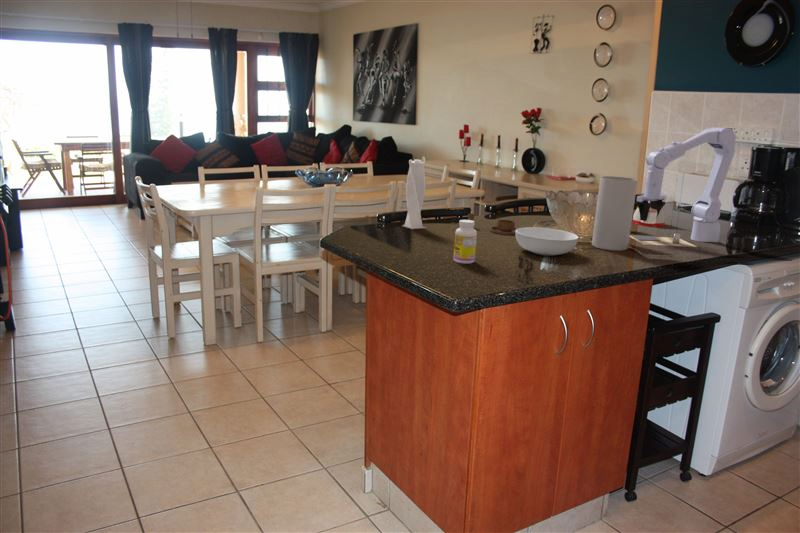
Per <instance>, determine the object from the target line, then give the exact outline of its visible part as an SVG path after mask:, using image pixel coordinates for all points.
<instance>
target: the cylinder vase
mask: <svg viewBox="0 0 800 533" xmlns="http://www.w3.org/2000/svg"><path fill="white" fill-rule="evenodd" d="M637 188H638V179H637V178H631V177H626V176H625V177H623V176H610V175H608V176H606V175H605V176H600V179H599V187H598V194H597V200H596V201H597V202H596V209H595V216H594V225H593V231H592V232H593V233H592V240H591V245H592V246H593V247H595V248H596V249H599V250H604V251H610V252H611V251H612V252H623V251H626V250H628V248H629V242H630V237H629V236H631V232H630V229H631V222H632V215H633V214H634V208H635V203H636V202H635V201H636V193H637ZM631 230H632V229H631Z"/></svg>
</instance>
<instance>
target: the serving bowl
mask: <svg viewBox="0 0 800 533" xmlns="http://www.w3.org/2000/svg"><path fill="white" fill-rule="evenodd" d="M514 232H515V234H516V235H515V239H516V241H517V243H518V245H519V246H520V247H521V248H523V249H524V250H526V251H529V252H532V253H533V254H535V255H540V256H551V257H553V256H557V255H563V254H567V253H570V252H571V251H572V250H574V249H575V247H576V245H577V244H578V241H579V236H578V235H577V234H575V233H573V232H571V231H570V232H569V231H566V230H562V229H556V228H551V227H549V228H548V227H540V226H539V227H537V226H535V227H534V226H531V227H529V226H527V227H520V228H517V229H516V231H514Z"/></svg>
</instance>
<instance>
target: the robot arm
mask: <svg viewBox="0 0 800 533" xmlns="http://www.w3.org/2000/svg"><path fill="white" fill-rule="evenodd" d="M736 139H737V135H736V133H735V131H734V130H733V129H732V128H730V127H718V126H717V127H716V126H711V127H710V126H709V127H708V128H706V129H703V130H702V131H700V132H699V133H697V134H695V135H693V136H692V137H689V138H688V139H686V140H685V141H683V142H680V141H672V142H670V144H669V145H667V146H665V147H660V148H659V150H658V151H656V150H654V151H652V152H650V153H649V154H648V155H647V157H646V158H645V162H646V165H647V171H646V172H647V173H646V180H645V186H644V192H643V193H644V195H643V194H642V195H637V196H636V205H637V207H638V208H639V212H640V220H643V221H646V220H647V216H648V212H649V209H650V207H651V209H656V210H657V217H658V215H659V212H660V210H661V209H662V207H663V208H664V206H665V205H666V200H667V195H666V194H665V195H664V194H661V192H662V188H663V182H664V176H665V174H664V173H665V168H667V166H668V165H669V164H670V163H671V162H673V161H675V160H678V159H679V158H681V157H684V156H685V154H686V152H687V151H690V150H692V149H694V148H696V147H699V146H701V145H703V144H706V143H707V144H708V145H709V146H710V147H712V148H713V149H714V152H716V157H715V160H714V163H713V165H712V168H711V172H710V174H709V176H708V179H707V182H706V185H705V187H704V191H703V194H701V195H700V196H698V197H697V199H696V202H695V203H694V204H693V205H692V207H691V210H690V211H691V215H692V217H693V223H692V229H691V235H690V240H692V241H697V242H701V243H719V240H720V236H721V228H722V227H721V224H720V223H719V221H717V220H718V219H719V218H720V216H721V207H722V202H721V201H720V199H719V197H720V195H721V191H722V189H723V186H724V183H725V180H726V178H727V175H728V172H729V169H730V166H731V164H732V161H733V158H734V155H735V153H736V151H735V148H736V147H735V142H736ZM648 201H650V203H649V202H648ZM656 219H657V218H656Z"/></svg>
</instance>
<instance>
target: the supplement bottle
mask: <svg viewBox="0 0 800 533" xmlns="http://www.w3.org/2000/svg"><path fill="white" fill-rule="evenodd" d="M458 224H459V228H456V229H455V233H454V234H455V235H454V247H453V257H452V258H453V259H452V260H453V261H454V262H455V263H458V264H473V263H474V262H476V261H475V259H476V249H477V237H478V231H477V230H476V229H475V228H474V227H475V225H476V224H475V221H474V220H473V221H472V220H468V219H460V220H459V222H458Z"/></svg>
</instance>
